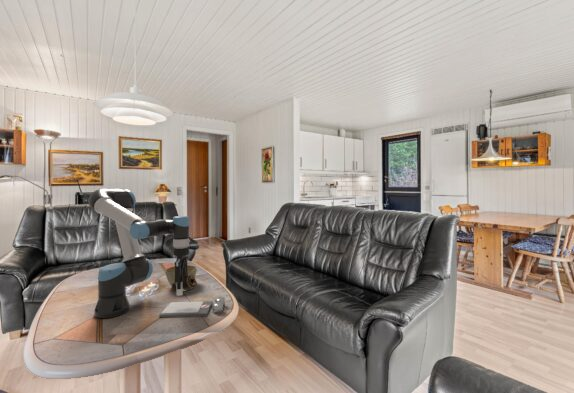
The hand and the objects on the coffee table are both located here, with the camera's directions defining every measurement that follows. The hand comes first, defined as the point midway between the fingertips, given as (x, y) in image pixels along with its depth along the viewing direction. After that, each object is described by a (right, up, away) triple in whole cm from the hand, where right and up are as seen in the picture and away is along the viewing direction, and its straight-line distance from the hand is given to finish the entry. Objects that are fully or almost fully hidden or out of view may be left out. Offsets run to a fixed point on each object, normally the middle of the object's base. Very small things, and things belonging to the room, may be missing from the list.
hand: (181, 292), depth 139 cm
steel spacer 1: (+18, -9, +5) cm, 21 cm away
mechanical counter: (+1, -1, 0) cm, 1 cm away
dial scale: (+3, -9, 0) cm, 9 cm away
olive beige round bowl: (-12, -9, +32) cm, 36 cm away
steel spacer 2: (+18, -9, -2) cm, 21 cm away
